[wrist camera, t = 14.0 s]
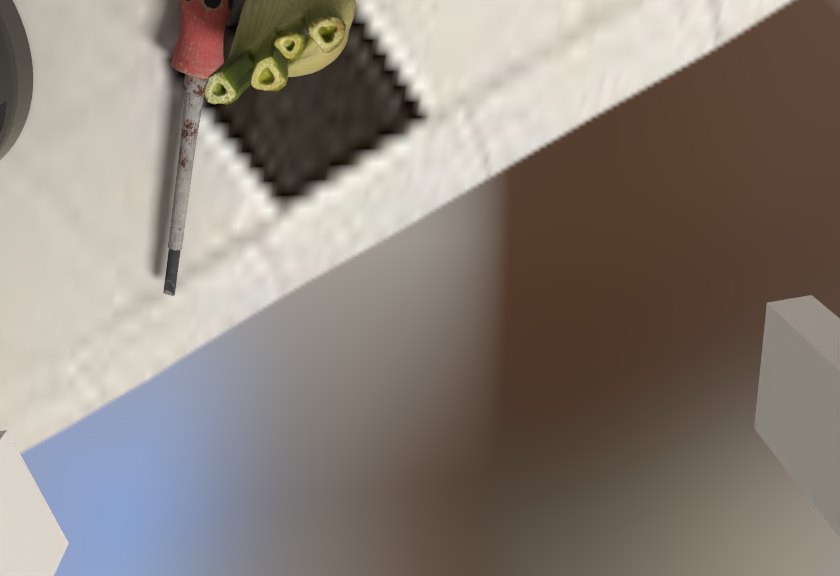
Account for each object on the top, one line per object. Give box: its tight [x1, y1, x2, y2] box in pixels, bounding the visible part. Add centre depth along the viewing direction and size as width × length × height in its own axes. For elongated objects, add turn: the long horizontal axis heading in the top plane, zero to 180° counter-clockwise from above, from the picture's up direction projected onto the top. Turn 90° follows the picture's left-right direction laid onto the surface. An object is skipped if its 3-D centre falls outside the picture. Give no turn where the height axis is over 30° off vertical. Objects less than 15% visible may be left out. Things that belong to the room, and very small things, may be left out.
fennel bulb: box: [204, 0, 356, 105], centre depth 31 cm, size 6×5×12 cm
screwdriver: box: [164, 0, 234, 296], centre depth 36 cm, size 25×3×3 cm, turn 165°
